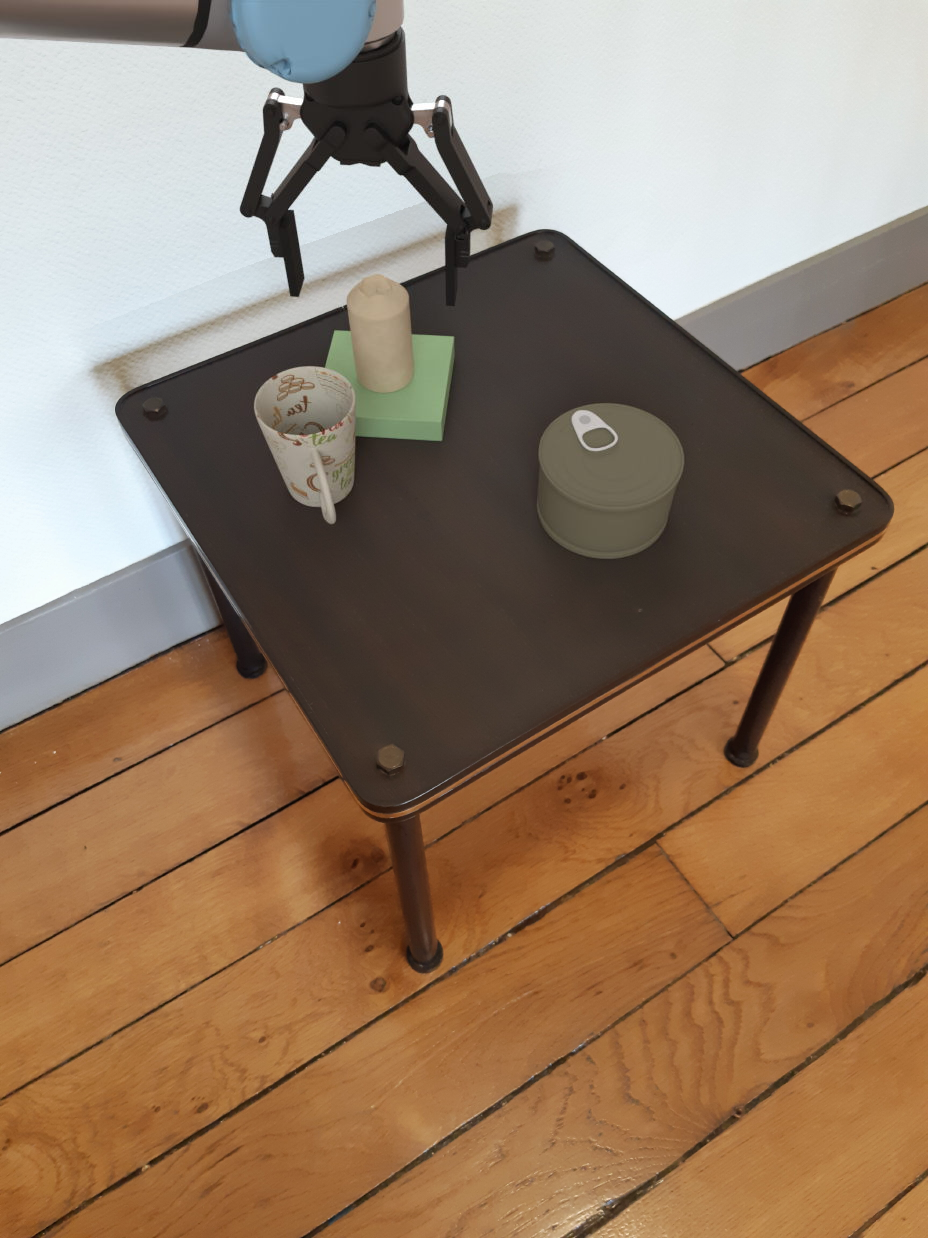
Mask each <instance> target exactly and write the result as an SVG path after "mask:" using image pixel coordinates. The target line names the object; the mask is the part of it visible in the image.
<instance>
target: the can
mask: <svg viewBox="0 0 928 1238" xmlns="http://www.w3.org/2000/svg"><path fill="white" fill-rule="evenodd" d="M537 456H538V457H537V458H538V464H539V468H538V483H537V484H538V485H537V497H536V513H537V517H538V519H539V522H540V524H541V526H542V528H543V530H544V531H545V533H547V535H548V536H549V537H550V538H551V539H552V540H553V541H554V542H556V543H557V544H558V545H560V546H561V547H562V548H564V549H566V550H568V551H570V552H572V553H574V554H577V555H580V556H583V557H587V558H592V559H599V560H615V559H623V558H626V557H627V558H628V557H631V556H634V555H637V554H639V553H641V552H643V551H644V550H646V549H648V548H649V547H651V546H652V545H653V544H654V543H656V541H658V539H659V538H660V537H661V535H662V534H663V532H664V530H665V528H666V526H667V524H668V519H669V514H670V511H671V507H672V504H673V500H674V497H675V494H676V493H675V492H676V490H677V485H678V484H679V482H680V480H681V477H682V475H683V473H684V472H683V471H684V467H685V454H684V449H683V446H682V444H681V442H680V439H679V438H678V436H677V435H676V433H675V432H674V431H673V429H672V428H671V427H670V426H669V425H668V424H666V423H665V422H664V421H663V420H661V419H660V418H658V417H657V416H656V415H654V414H652V413H650V412H648V411H646V410H643V409H640V408H638V407H634V406H631V405H627V404H621V403H612V402H611V403H610V402H601V403H591V404H586V405H580V406H578V407H575V408H572V409H570V410H568V411H566V412H564V413H562V414H561V415H559V416H558V417H556V418H555V419H554V420H552V421H551V423H550V424H548V426H547V427H546V429H544V432H543V434H542V435H541V438H540V441H539V445H538V453H537Z"/></svg>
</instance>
